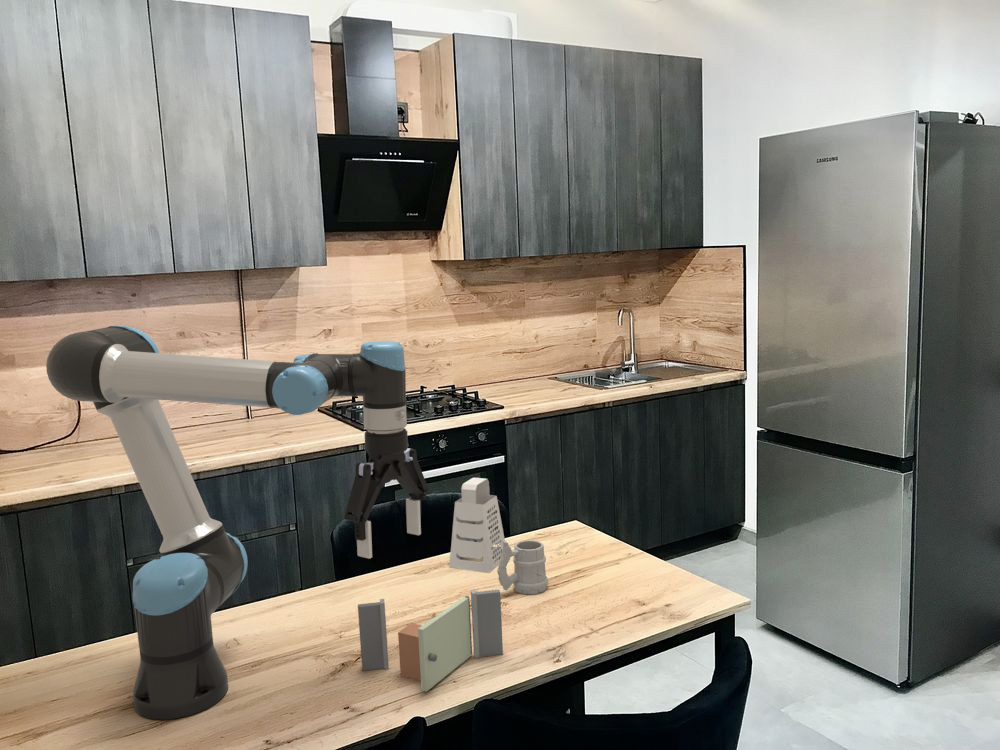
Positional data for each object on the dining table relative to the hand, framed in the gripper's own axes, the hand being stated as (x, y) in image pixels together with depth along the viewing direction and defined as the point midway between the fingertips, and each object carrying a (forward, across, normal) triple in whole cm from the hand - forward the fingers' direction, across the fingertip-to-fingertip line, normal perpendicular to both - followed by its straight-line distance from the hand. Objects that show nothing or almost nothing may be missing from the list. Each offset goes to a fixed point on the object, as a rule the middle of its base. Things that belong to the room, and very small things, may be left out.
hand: (390, 544), depth 149 cm
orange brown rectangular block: (+22, -2, -8) cm, 23 cm away
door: (+21, 0, -13) cm, 25 cm away
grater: (+22, +46, +13) cm, 53 cm away
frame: (+21, +2, -7) cm, 23 cm away
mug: (+21, +37, -5) cm, 43 cm away
